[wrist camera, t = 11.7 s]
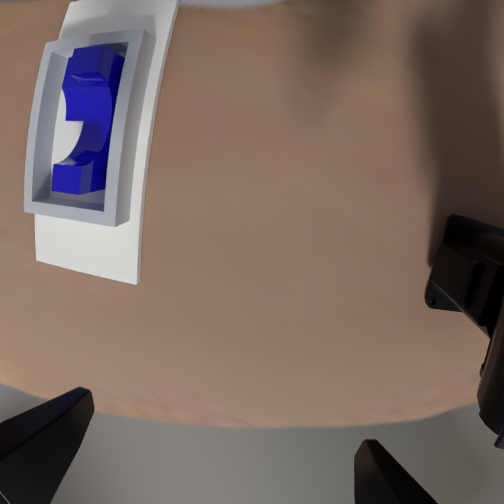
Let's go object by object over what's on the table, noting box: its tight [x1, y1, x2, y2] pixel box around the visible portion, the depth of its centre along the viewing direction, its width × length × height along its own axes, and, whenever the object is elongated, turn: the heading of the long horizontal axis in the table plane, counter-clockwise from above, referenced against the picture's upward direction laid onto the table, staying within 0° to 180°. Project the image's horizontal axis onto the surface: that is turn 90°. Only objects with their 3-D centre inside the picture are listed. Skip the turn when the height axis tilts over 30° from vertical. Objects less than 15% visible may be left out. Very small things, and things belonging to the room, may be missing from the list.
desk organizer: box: [24, 0, 181, 285], centre depth 17 cm, size 9×20×3 cm, turn 171°
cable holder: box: [51, 45, 125, 195], centre depth 15 cm, size 8×4×4 cm, turn 170°
